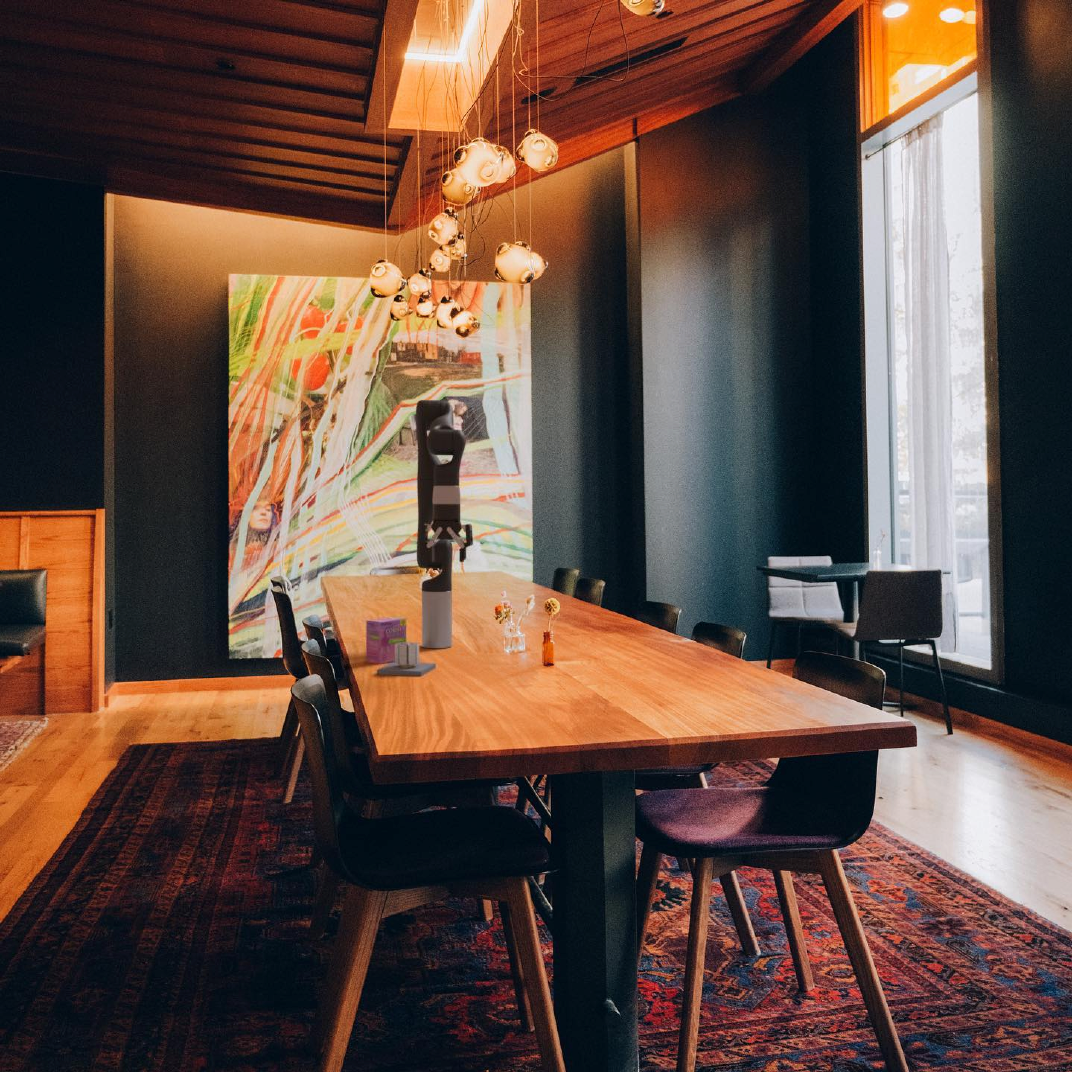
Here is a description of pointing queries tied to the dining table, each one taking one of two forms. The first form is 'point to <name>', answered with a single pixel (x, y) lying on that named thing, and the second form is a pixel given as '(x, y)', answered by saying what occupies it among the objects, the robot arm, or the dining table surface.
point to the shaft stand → (406, 668)
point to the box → (384, 638)
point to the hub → (406, 653)
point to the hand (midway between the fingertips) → (446, 561)
